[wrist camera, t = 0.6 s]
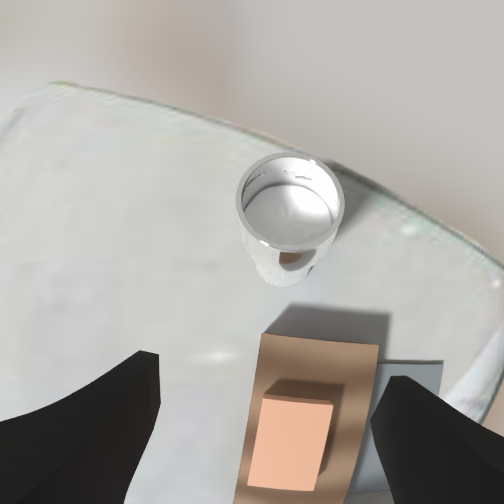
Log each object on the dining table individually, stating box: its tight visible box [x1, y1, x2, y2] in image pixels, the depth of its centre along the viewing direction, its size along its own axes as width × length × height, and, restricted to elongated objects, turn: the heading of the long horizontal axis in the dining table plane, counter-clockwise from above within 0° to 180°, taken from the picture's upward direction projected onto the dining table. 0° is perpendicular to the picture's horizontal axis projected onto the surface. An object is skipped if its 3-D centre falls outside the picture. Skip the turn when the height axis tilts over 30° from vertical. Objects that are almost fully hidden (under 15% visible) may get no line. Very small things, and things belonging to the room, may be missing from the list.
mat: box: [347, 363, 443, 493], centre depth 26 cm, size 16×10×1 cm, turn 171°
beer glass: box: [236, 152, 345, 287], centre depth 25 cm, size 7×7×15 cm
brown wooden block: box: [233, 333, 379, 504], centre depth 25 cm, size 20×11×4 cm, turn 172°
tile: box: [247, 394, 333, 491], centre depth 22 cm, size 9×6×2 cm, turn 172°
